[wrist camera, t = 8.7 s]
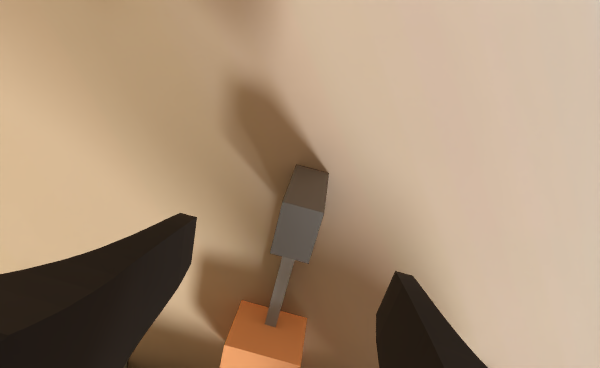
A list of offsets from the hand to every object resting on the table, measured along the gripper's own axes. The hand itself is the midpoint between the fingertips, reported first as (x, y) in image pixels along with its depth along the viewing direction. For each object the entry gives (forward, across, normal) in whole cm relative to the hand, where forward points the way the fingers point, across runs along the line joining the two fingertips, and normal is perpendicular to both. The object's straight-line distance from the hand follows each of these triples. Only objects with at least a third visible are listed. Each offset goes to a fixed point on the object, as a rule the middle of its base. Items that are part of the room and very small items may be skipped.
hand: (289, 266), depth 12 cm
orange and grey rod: (+9, 0, +8) cm, 12 cm away
